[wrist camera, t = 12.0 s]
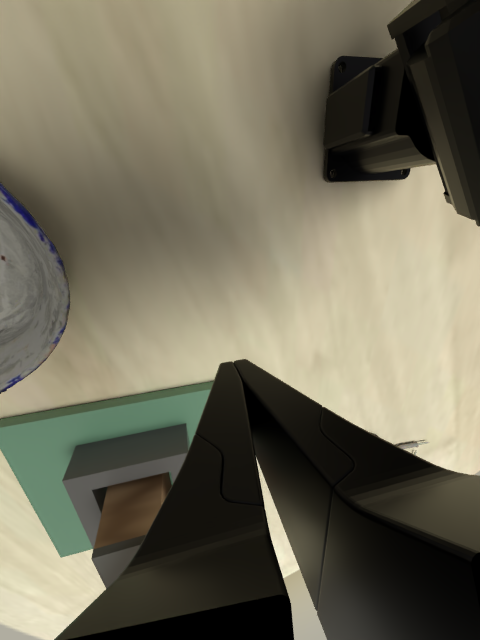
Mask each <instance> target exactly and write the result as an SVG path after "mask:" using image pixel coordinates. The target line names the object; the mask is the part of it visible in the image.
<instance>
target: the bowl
mask: <svg viewBox="0 0 480 640" xmlns="http://www.w3.org/2000/svg"><path fill="white" fill-rule="evenodd" d="M69 307H70V292H69V285H68V279H67V276H66V272H65V269H64V265H63V261H62V260H61V258H60V257H59V255H58V252H57V250H56V248H55V246H54V245H53V243H52V242H51V241H50V239H49V238H48V237H47V235H46V234H45V232H44V230H43V229H42V228H41V226H40V225H39V224H38V223H37V221H36V220H35V219H34V218H33V217H32V215H31V214H30V213H29V212H28V211H27V209H26V208H25V207H24V206H23V205H22V204H21V203H20V202H19V201H18V200H17V199H16V198H15V197H14V196H13V195H12V194H11V193H10V192H9V191H8V190H7V189H6V188H5V187H4V186H3V185H2V184H1V183H0V394H1V392H4V391H7V389H8V388H10V387H12V386H13V385H15V384H16V383H17V382H19V381H21V380H22V379H24V378H25V377H27V376H28V375H29V374H31V373H32V372H33V371H35V370H36V369H37V368H38V367H39V366H40V365H41V364H42V363H43V362H44V361H45V360H46V359H47V358H48V356H49V355H50V354H51V353H52V351H53V350H54V348H55V347H56V345H57V344H58V342H59V340H60V338H61V336H62V334H63V332H64V330H65V327H66V324H67V320H68V313H69Z"/></svg>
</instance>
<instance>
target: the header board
mask: <svg viewBox="0 0 480 640" xmlns="http://www.w3.org/2000/svg"><path fill="white" fill-rule="evenodd" d="M213 382H214V381H212V382H206V383H200V384H195V385H189V386H184V387H178V388H172V389H167V390H161V391H155V392H150V393H144V394H139V395H133V396H127V397H122V398H116V399H110V400H105V401H99V402H94V403H88V404H82V405H77V406H71V407H65V408H60V409H54V410H49V411H43V412H37V413H32V414H26V415H21V416H15V417H9V418H4V419H0V449H1V451H2V453H3V454H4V456H5V458H6V460H7V462H8V463H9V465H10V467H11V469H12V471H13V472H14V474H15V476H16V478H17V480H18V481H19V483H20V485H21V487H22V489H23V490H24V492H25V494H26V496H27V498H28V499H29V501H30V503H31V505H32V506H33V508H34V510H35V512H36V514H37V515H38V517H39V519H40V521H41V523H42V524H43V526H44V528H45V530H46V532H47V533H48V535H49V537H50V539H51V541H52V542H53V544H54V546H55V548H56V550H57V551H58V553H59V555H60V557H65V556H68V555H72V554H76V553H79V552H83V551H87V550H90V549H94V545H95V541H96V536H97V532H98V527H99V523H100V519H101V514H102V510H103V505H104V501H105V496H106V492H107V487H108V486H111V485H115V484H119V483H124V482H128V481H132V480H136V479H141V478H145V477H149V476H153V475H158V474H162V473H166V472H169V475H170V480H171V484H172V485H173V483H174V481H175V479H176V477H177V475H178V473H179V471H180V469H181V467H182V464H183V462H184V460H185V457H186V455H187V452H188V450H189V448H190V445H191V442H192V439H193V437H194V435H195V432H196V429H197V426H198V423H199V421H200V418H201V415H202V412H203V410H204V407H205V404H206V401H207V399H208V396H209V393H210V390H211V388H212V385H213Z"/></svg>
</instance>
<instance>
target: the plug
mask: <svg viewBox="0 0 480 640" xmlns="http://www.w3.org/2000/svg"><path fill="white" fill-rule="evenodd" d="M171 487H172V484H171V480H170V475H169V472H166V473H162V474H158V475H153V476H149V477H145V478H141V479H136V480H132V481H128V482H124V483H119V484H115V485H111V486H108V487H107V492H106V496H105V501H104V505H103V510H102V514H101V519H100V523H99V527H98V532H97V536H96V541H95V545H94V550H93V554H92V561H93V563H94V565H95V567H96V569H97V571H98V573H99V575H100V577H101V579H102V581H103V583H104V585H105V587H106V589H107V588H108V587H109V586H110V585H111V584H112V583H113V582H114V581H115V580H116V579H117V578H118V577H119V576H120V574H121V573H122V572H123V571H124V570H125V568H126V567H127V565H128V564H129V563H130V561H131V560H132V558H133V557H134V555H135V554H136V552H137V550H138V549H139V547H140V545H141V543H142V541H143V540H144V538H145V536H146V534H147V532H148V530H149V528H150V526H151V525H152V523H153V521H154V519H155V517H156V515H157V513H158V511H159V509H160V507H161V506H162V504H163V502H164V500H165V498H166V496H167V494H168V492H169V490H170V489H171Z"/></svg>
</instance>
